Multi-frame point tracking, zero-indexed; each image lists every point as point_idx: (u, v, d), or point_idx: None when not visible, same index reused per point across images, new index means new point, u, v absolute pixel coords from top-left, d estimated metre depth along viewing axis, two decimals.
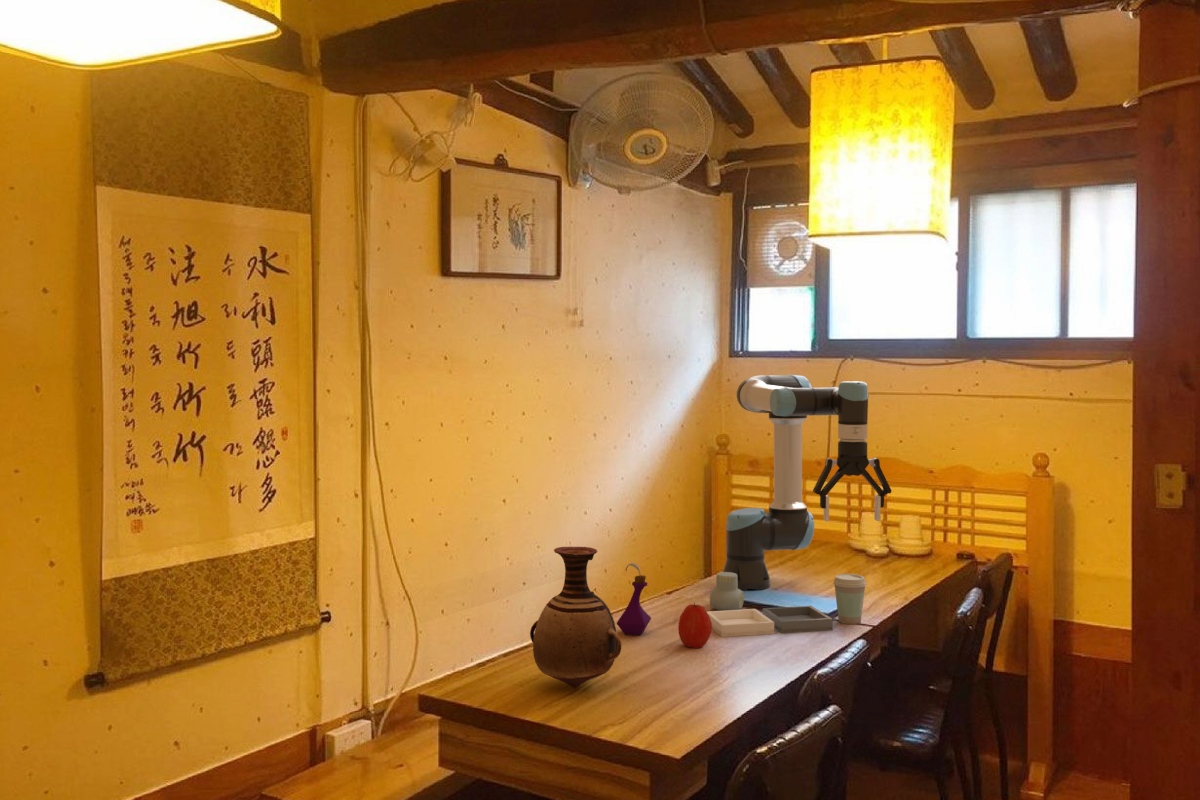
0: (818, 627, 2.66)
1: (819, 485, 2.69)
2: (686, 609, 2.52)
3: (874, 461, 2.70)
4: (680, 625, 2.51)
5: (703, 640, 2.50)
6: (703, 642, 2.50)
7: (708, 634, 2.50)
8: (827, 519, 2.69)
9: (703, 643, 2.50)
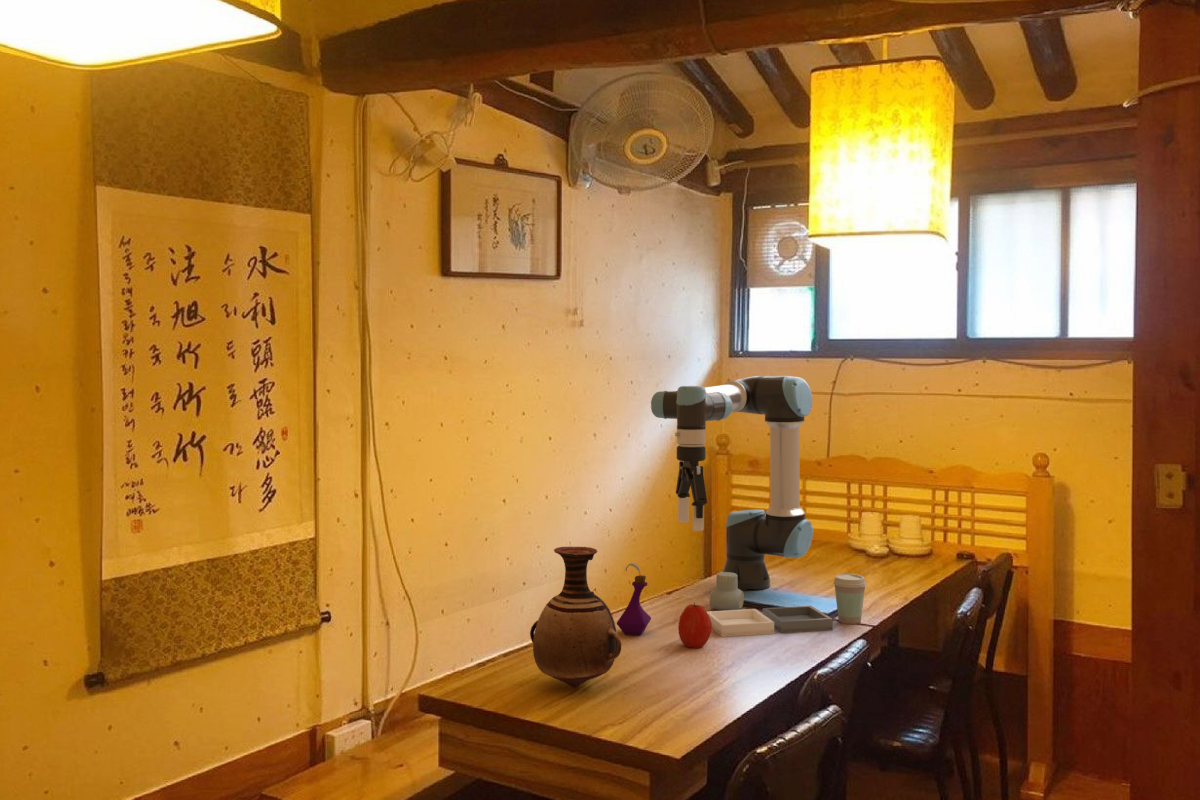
0: (818, 627, 2.66)
1: (677, 485, 2.76)
2: (686, 609, 2.52)
3: None
4: (680, 625, 2.51)
5: (703, 640, 2.50)
6: (703, 642, 2.50)
7: (708, 634, 2.50)
8: (678, 520, 2.75)
9: (703, 643, 2.50)
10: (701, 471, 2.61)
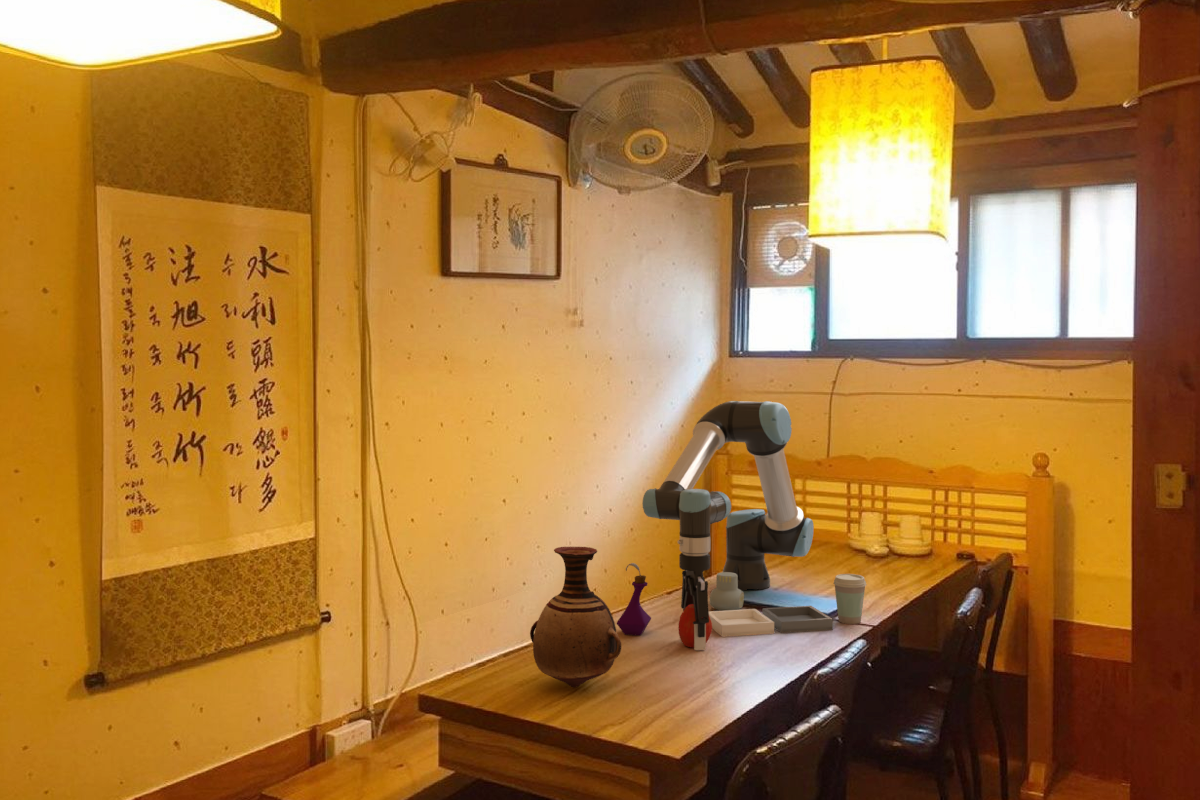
0: (818, 627, 2.66)
1: None
2: (686, 609, 2.51)
3: None
4: (680, 625, 2.51)
5: None
6: None
7: (708, 634, 2.50)
8: None
9: None
10: (705, 587, 2.46)
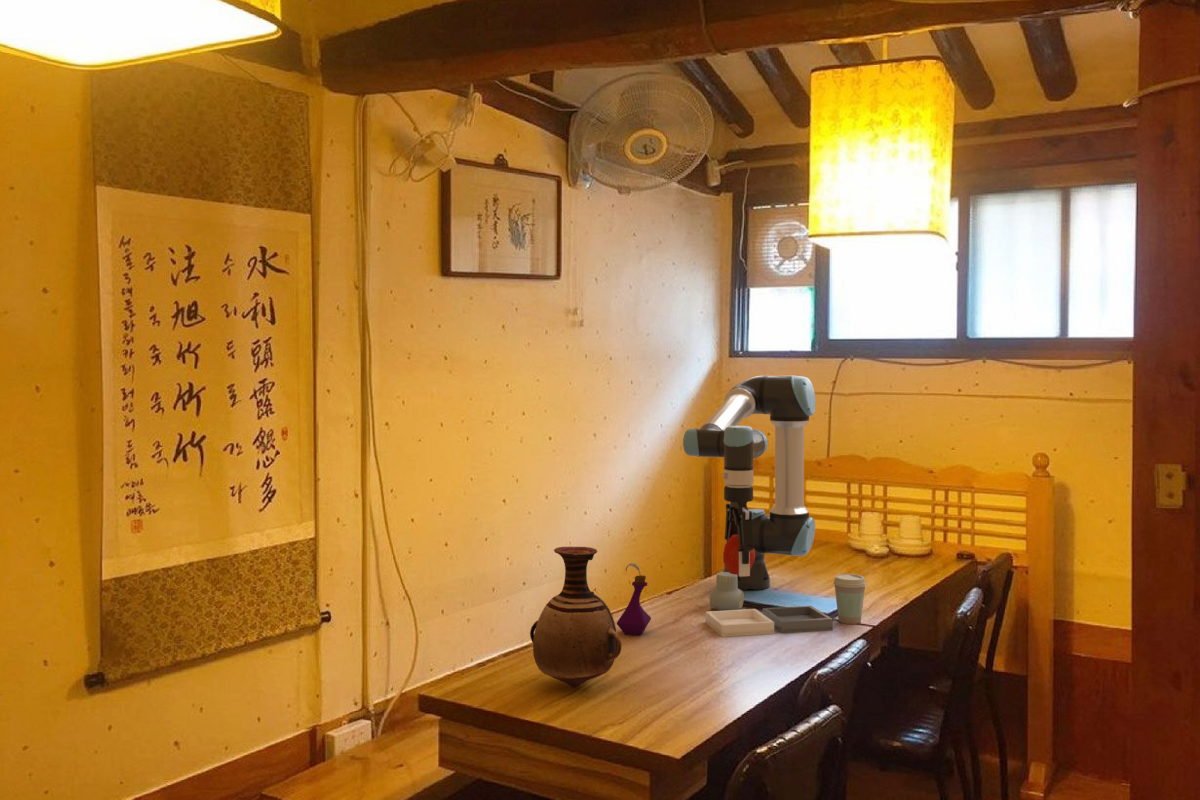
0: (818, 627, 2.66)
1: (725, 531, 2.74)
2: (730, 538, 2.66)
3: None
4: (725, 553, 2.66)
5: None
6: None
7: (751, 562, 2.65)
8: None
9: None
10: (750, 517, 2.61)
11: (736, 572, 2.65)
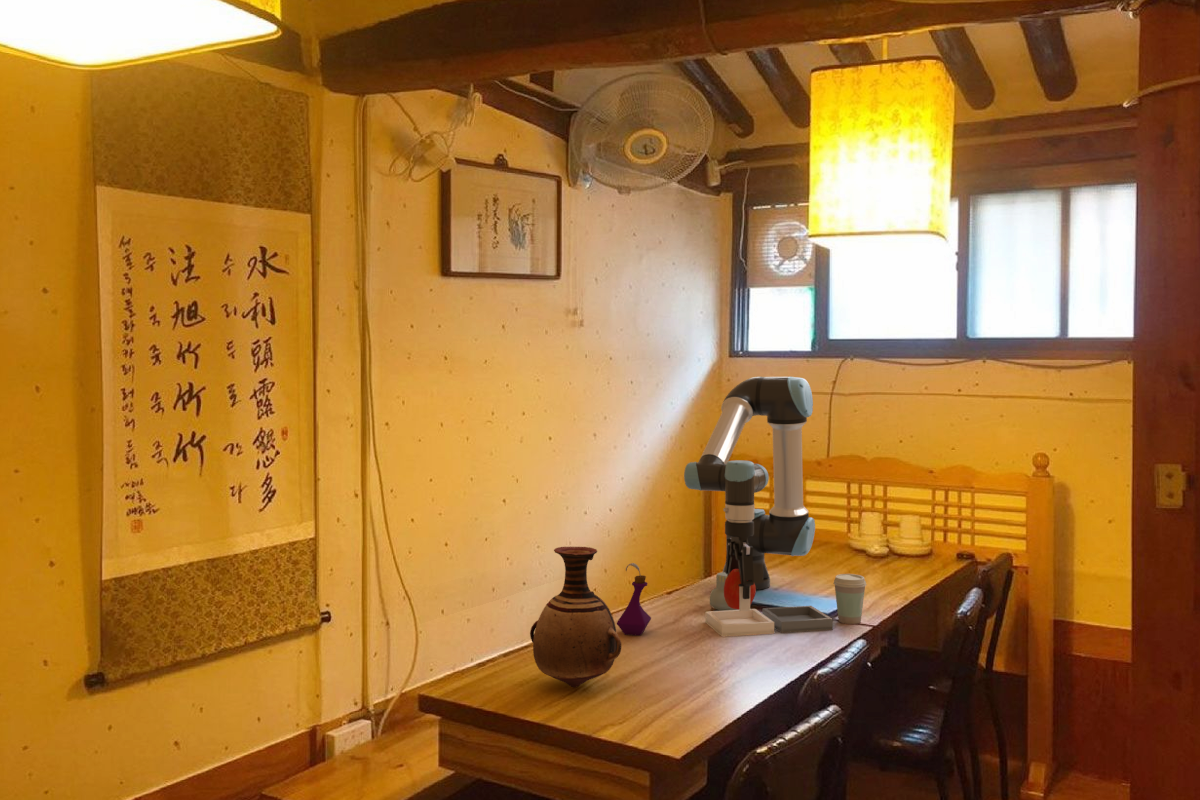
0: (818, 627, 2.66)
1: (726, 565, 2.75)
2: (731, 573, 2.67)
3: None
4: (726, 588, 2.67)
5: None
6: None
7: (752, 596, 2.66)
8: None
9: None
10: (750, 552, 2.61)
11: (737, 607, 2.65)
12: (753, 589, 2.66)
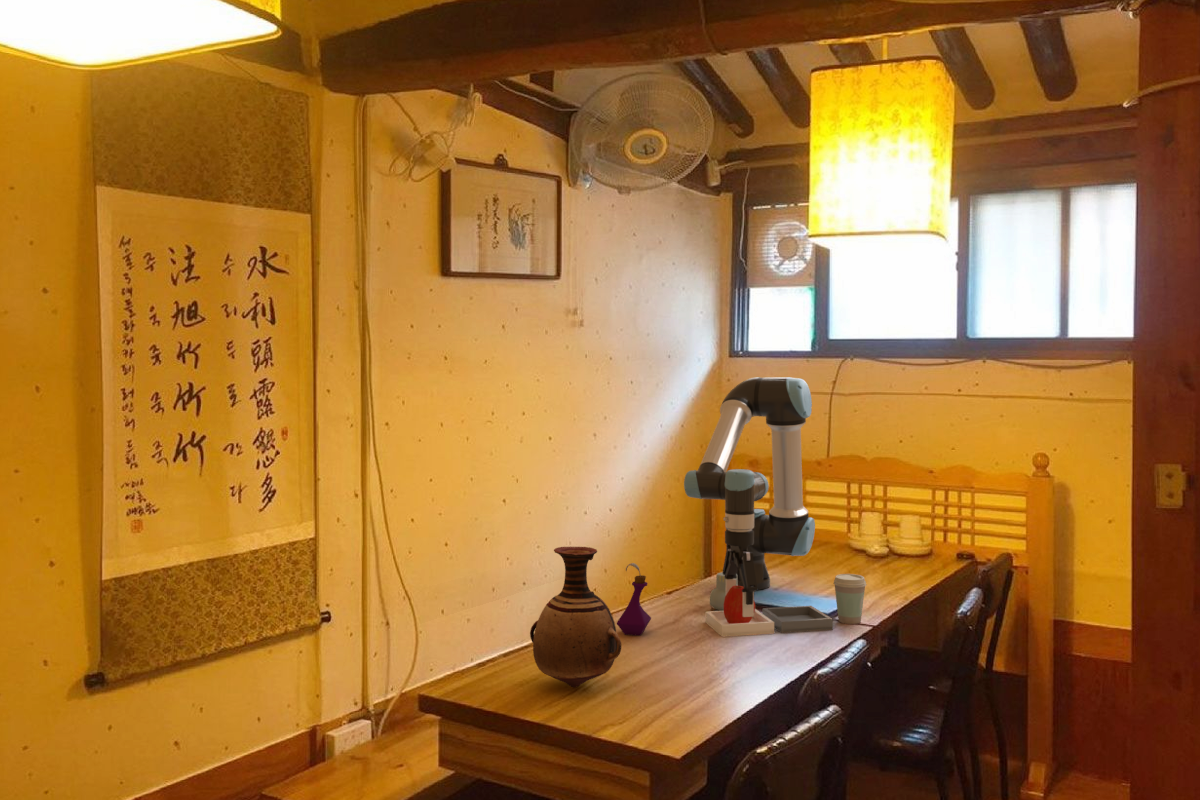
0: (818, 627, 2.66)
1: None
2: (731, 590, 2.68)
3: None
4: (725, 605, 2.67)
5: (747, 619, 2.66)
6: (747, 621, 2.66)
7: None
8: None
9: (747, 622, 2.67)
10: (751, 557, 2.61)
11: None
12: None
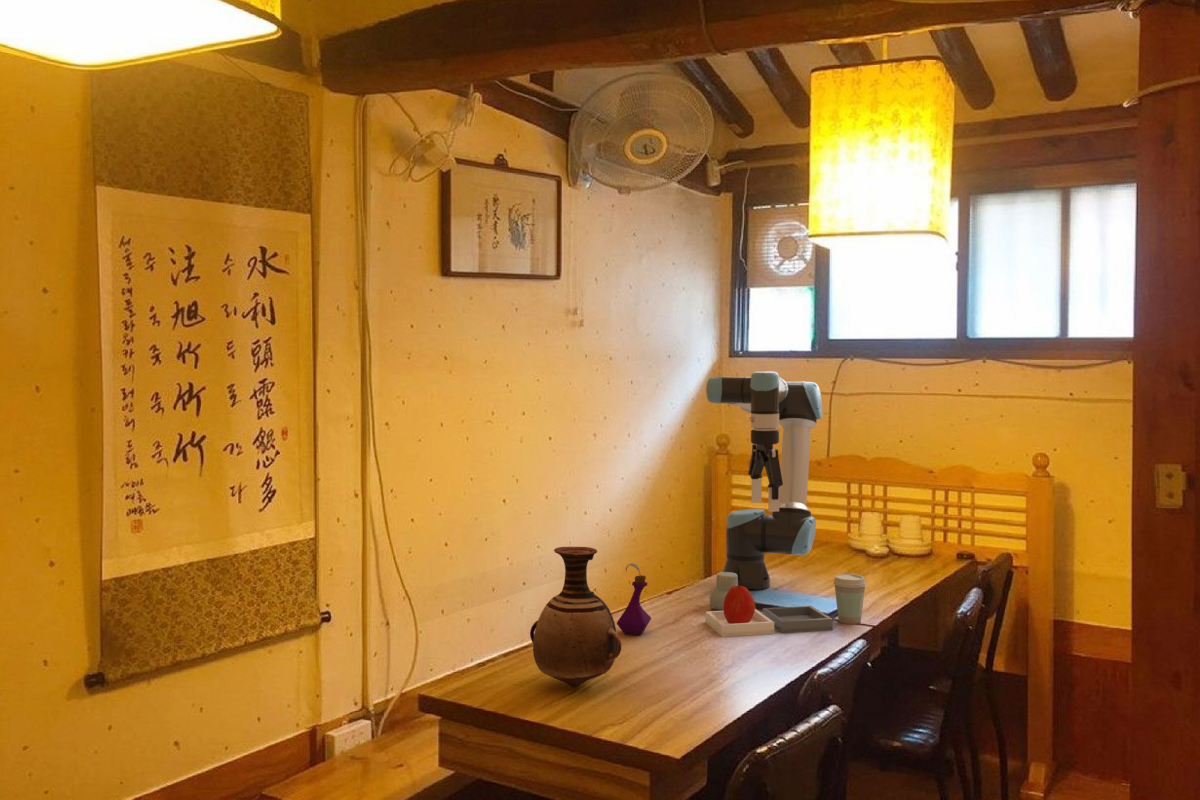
0: (818, 627, 2.66)
1: (749, 467, 2.86)
2: (731, 590, 2.68)
3: None
4: (725, 605, 2.67)
5: (747, 619, 2.66)
6: (747, 621, 2.66)
7: (751, 613, 2.67)
8: None
9: (747, 622, 2.67)
10: (776, 454, 2.71)
11: None
12: (753, 606, 2.67)
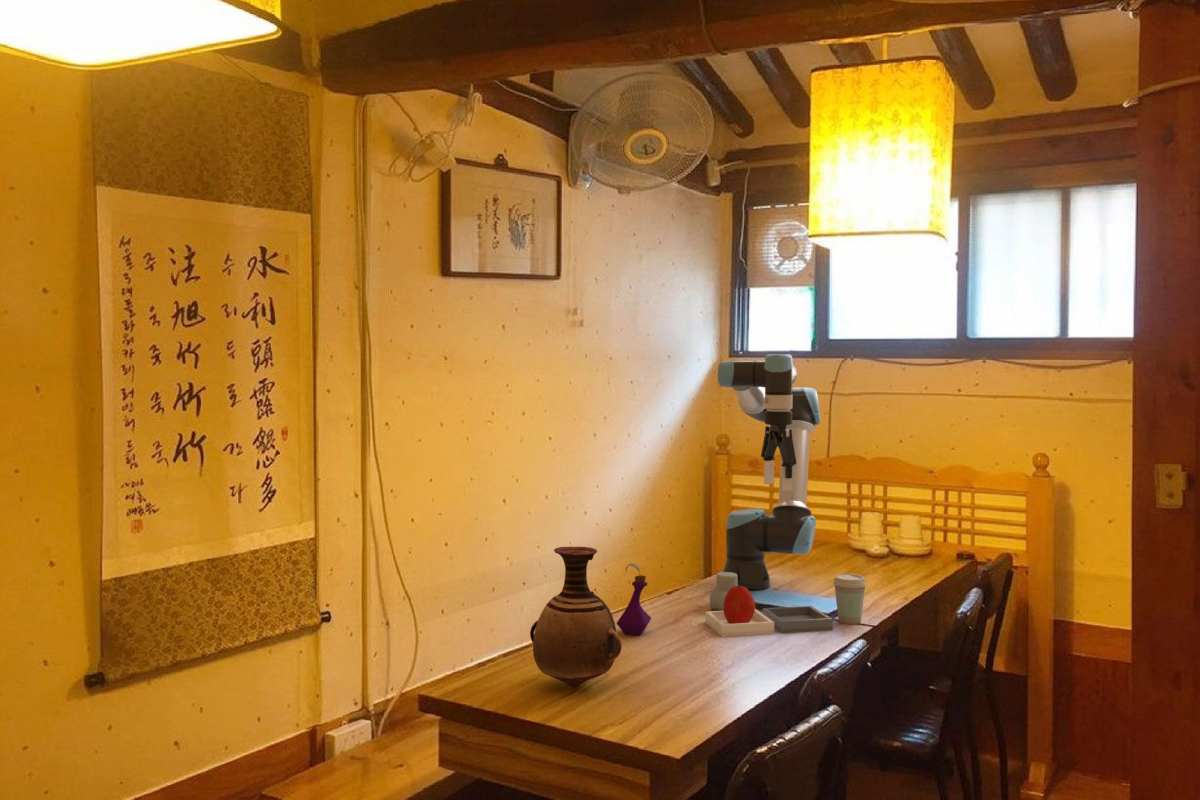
0: (818, 627, 2.66)
1: (762, 449, 2.92)
2: (731, 590, 2.68)
3: None
4: (725, 605, 2.67)
5: (747, 619, 2.66)
6: (747, 621, 2.66)
7: (751, 613, 2.67)
8: (764, 482, 2.90)
9: (747, 622, 2.67)
10: (790, 434, 2.77)
11: None
12: (753, 606, 2.67)
